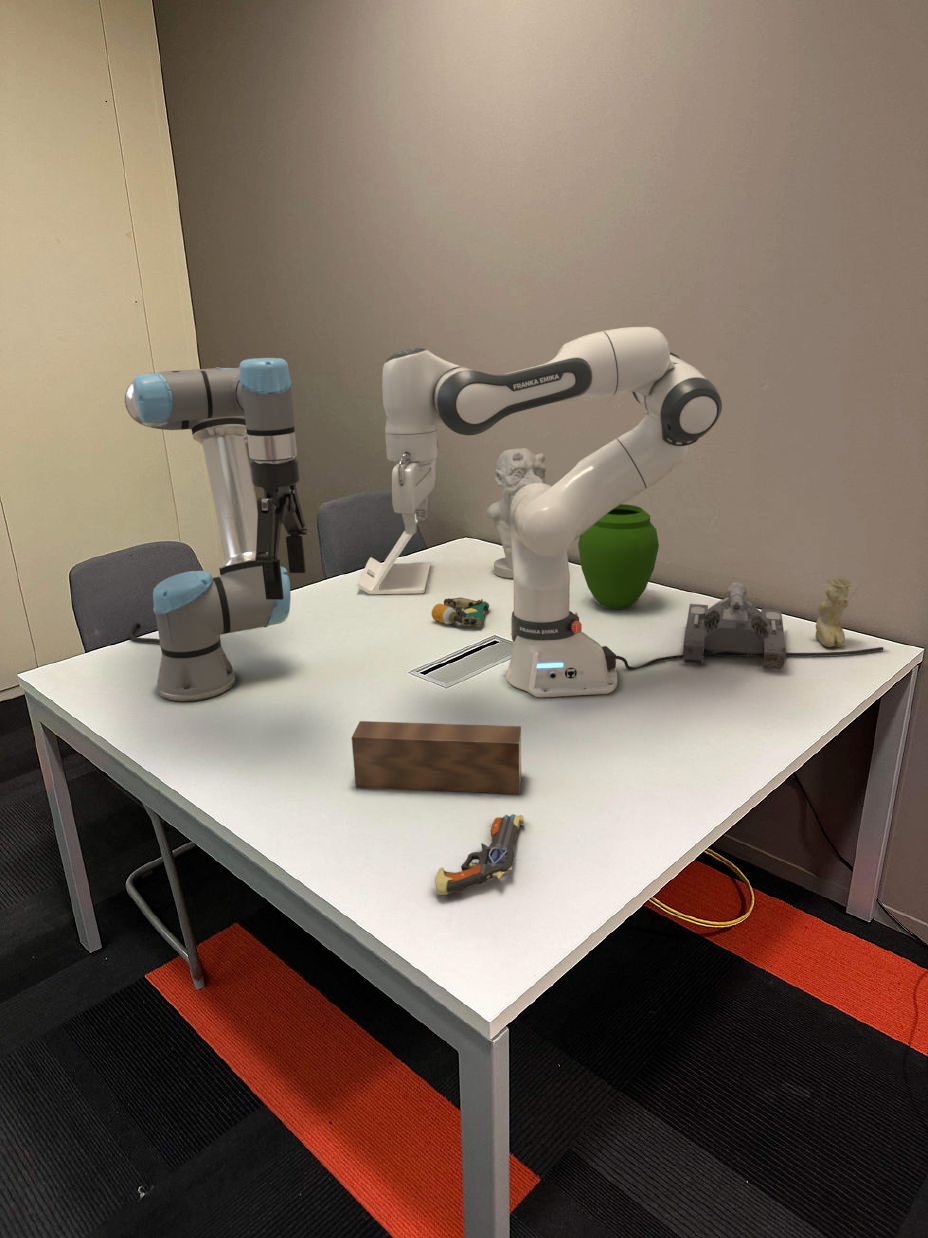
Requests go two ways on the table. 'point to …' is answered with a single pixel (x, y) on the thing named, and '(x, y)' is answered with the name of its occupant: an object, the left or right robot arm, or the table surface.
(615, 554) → the vase
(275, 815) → the table surface
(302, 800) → the table surface
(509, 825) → the toy gun
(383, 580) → the tablet stand
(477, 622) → the spray gun
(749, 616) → the toy
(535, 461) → the bust sculpture
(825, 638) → the sculpture
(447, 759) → the bar
